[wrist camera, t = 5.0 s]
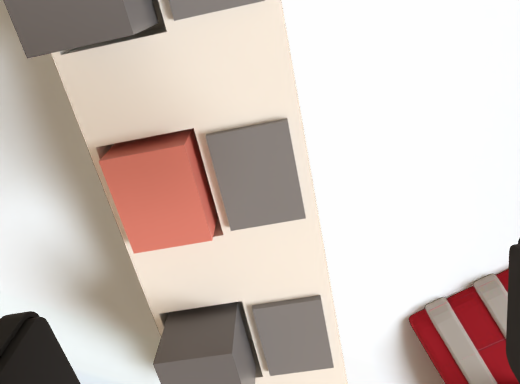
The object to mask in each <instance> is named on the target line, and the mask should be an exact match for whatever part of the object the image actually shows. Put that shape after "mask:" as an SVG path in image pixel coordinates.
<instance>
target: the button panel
mask: <svg viewBox="0 0 520 384" xmlns="http://www.w3.org/2000/svg"><path fill="white" fill-rule="evenodd" d="M153 4H154V7H155V11H156V14H157V18H158V21H159V23H158V24H155V25H153V26H151V27H149V28H147V29H145V30H143V31H141V32H139V33H137V34H135V35H131V36H126V37H122V38H117V39H113V40H108V41H104V42H99V43H95V44H90V45H86V46H81V47H77V48H72V49H68V50H63V51H59V52H54V53H51V55H52V58H53V60H54V63H55V65H56V68H57V70H58V73H59V76H60V78H61V81H62V83H63V86H64V89H65V91H66V94H67V96H68V99H69V101H70V104H71V107H72V109H73V112H74V114H75V117H76V119H77V122H78V125H79V127H80V130H81V132H82V135H83V137H84V140H85V143H86V145H87V148H88V150H89V153H90V155H91V158H92V161H93V163H94V166H95V168H96V171H97V174H98V176H99V179H100V181H101V184H102V186H103V189H104V192H105V194H106V197H107V199H108V202H109V204H110V207H111V210H112V212H113V215H114V217H115V220H116V222H117V225H118V228H119V230H120V233H121V235H122V238H123V240H124V243H125V246H126V248H127V251H128V253H129V256H130V259H131V261H132V264H133V266H134V269H135V271H136V274H137V277H138V279H139V282H140V284H141V287H142V289H143V292H144V295H145V297H146V300H147V302H148V305H149V307H150V310H151V313H152V315H153V318H154V320H155V323H156V325H157V328H158V331H159V333H160V336H162V333H163V330H164V327H165V323H166V320H167V317H168V313H169V312H173V311H180V310H186V309H193V308H200V307H206V306H213V305H219V304H226V303H233V302H238V303H239V307H240V310H241V314H242V317H243V321H244V325H245V328H246V332H247V335H248V339H249V342H250V346H251V349H252V353H253V356H254V360H255V363H256V376H255V384H348V382H347V377H346V371H345V365H344V359H343V354H342V348H341V342H340V336H339V331H338V325H337V319H336V313H335V308H334V302H333V296H332V290H331V284H330V279H329V273H328V267H327V261H326V256H325V250H324V244H323V238H322V233H321V227H320V221H319V215H318V210H317V204H316V198H315V192H314V187H313V181H312V175H311V169H310V163H309V158H308V152H307V146H306V140H305V135H304V129H303V123H302V117H301V112H300V106H299V100H298V94H297V89H296V83H295V77H294V71H293V66H292V60H291V54H290V48H289V42H288V37H287V31H286V25H285V19H284V14H283V8H282V2H281V0H153ZM192 128H194V131H195V134H196V138H197V142H198V145H199V149H200V152H201V156H202V160H203V163H204V167H205V170H206V174H207V177H208V181H209V185H210V188H211V192H212V195H213V199H214V203H215V206H216V210H217V213H218V217H217V222H216V226H215V231H214V235H213V240H212V241H207V242H201V243H195V244H189V245H183V246H177V247H171V248H165V249H159V250H153V251H147V252H141V253H135V254H134V253H133V250H132V247H131V245H130V242H129V240H128V237H127V234H126V232H125V229H124V227H123V224H122V221H121V219H120V216H119V213H118V211H117V208H116V206H115V203H114V200H113V198H112V195H111V193H110V190H109V187H108V185H107V182H106V179H105V177H104V174H103V172H102V169H101V166H100V164H99V160H100V159H101V158H102V157H103V156H104V155H105V154H106V152H107V151H108V150H109V149H110V148H111V147H112V146H113V145H114V144H115V143H120V142H125V141H130V140H136V139H141V138H146V137H151V136H156V135H161V134H166V133H172V132H177V131H182V130H187V129H192Z"/></svg>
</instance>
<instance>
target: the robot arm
mask: <svg viewBox="0 0 520 384" xmlns="http://www.w3.org/2000/svg"><path fill="white" fill-rule="evenodd" d="M506 355H507V359H508V363H509V365H510V368H511V370H512V372H513V373H514V375H515V377H516V378H517V380H518V382H519V384H520V239H519V241H518V244H516V245H512V246H511V247H510V251H509V276H508V303H507V330H506ZM0 384H80V382H79V380H78V378H77V376H76V374H75V372H74V371H73V369H72V367H71V365H70V363H69V361H68V359H67V357H66V356H65V354H64V352H63V350H62V348H61V346H60V344H59V342H58V341H57V339H56V337H55V335H54V333H53V331H52V329H51V327H50V326H49V324H48V322H47V320H46V319H45V318H43V317H39V315H38V314H37V313H35V312H31V311H30V312H23V313H17V314H10V315H6V316H3V317H2V318H1V319H0Z"/></svg>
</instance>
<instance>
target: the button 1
mask: <svg viewBox="0 0 520 384" xmlns="http://www.w3.org/2000/svg"><path fill="white" fill-rule="evenodd" d="M4 3H5V5H6V8H7V10H8V13H9V15H10V17H11V20H12V22H13V25H14V27H15V30H16V32H17V34H18V37H19V39H20V42H21V44H22V47H23V49H24V51H25V54H26V56H27V58H31V57H36V56H40V55H45V54H49V53H54V52H59V51H63V50H68V49H72V48H77V47H81V46H86V45H90V44H95V43H99V42H104V41H108V40H113V39H117V38H122V37H126V36H131V35H135V34H137V33H139V32H141V31H143V30H145V29H147V28H149V27H151V26H153V25H155V24H158V23H159V21H158V18H157V14H156V11H155V7H154V4H153V0H4Z"/></svg>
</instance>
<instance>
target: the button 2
mask: <svg viewBox="0 0 520 384" xmlns="http://www.w3.org/2000/svg"><path fill="white" fill-rule="evenodd" d="M99 164H100V166H101V169H102V172H103V174H104V177H105V179H106V182H107V185H108V187H109V190H110V193H111V195H112V198H113V200H114V203H115V206H116V208H117V211H118V213H119V216H120V219H121V221H122V224H123V227H124V229H125V232H126V234H127V237H128V240H129V242H130V245H131V247H132V250H133V253H134V254H135V253H141V252H147V251H153V250H159V249H165V248H171V247H177V246H183V245H189V244H195V243H201V242H207V241H212V240H213V235H214V231H215V226H216V222H217V217H218V213H217V210H216V206H215V203H214V199H213V195H212V192H211V188H210V185H209V181H208V177H207V174H206V170H205V167H204V163H203V160H202V156H201V152H200V149H199V145H198V142H197V138H196V134H195V131H194V128H192V129H187V130H182V131H177V132H172V133H166V134H161V135H156V136H151V137H146V138H141V139H136V140H130V141H125V142H120V143H115V144H114V145H113V146H112V147H111V148H110V149H109V150H108V151H107V152H106V154H105V155H104V156H103V157H102V158H101V159H100V160H99Z"/></svg>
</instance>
